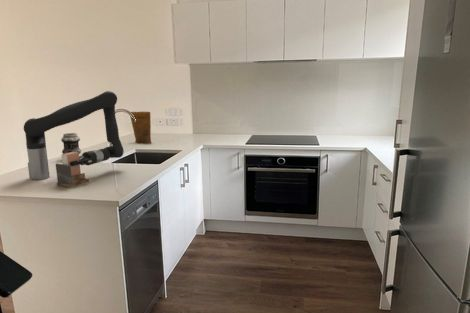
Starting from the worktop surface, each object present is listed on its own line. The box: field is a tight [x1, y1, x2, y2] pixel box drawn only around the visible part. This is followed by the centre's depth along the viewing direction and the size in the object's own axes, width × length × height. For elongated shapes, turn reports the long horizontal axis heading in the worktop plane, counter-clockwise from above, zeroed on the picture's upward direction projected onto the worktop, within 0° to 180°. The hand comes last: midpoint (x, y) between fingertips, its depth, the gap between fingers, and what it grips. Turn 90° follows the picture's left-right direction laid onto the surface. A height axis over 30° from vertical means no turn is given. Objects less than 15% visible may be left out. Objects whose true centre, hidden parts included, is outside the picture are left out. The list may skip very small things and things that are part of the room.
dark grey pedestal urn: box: [60, 132, 82, 155], centre depth 234 cm, size 12×12×18 cm
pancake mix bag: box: [129, 111, 152, 145], centre depth 294 cm, size 7×19×28 cm, turn 72°
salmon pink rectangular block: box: [61, 152, 82, 176], centre depth 177 cm, size 7×4×15 cm, turn 155°
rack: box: [55, 163, 90, 189], centre depth 178 cm, size 12×10×12 cm
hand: (66, 163), depth 174 cm, fingers open, 5 cm apart
